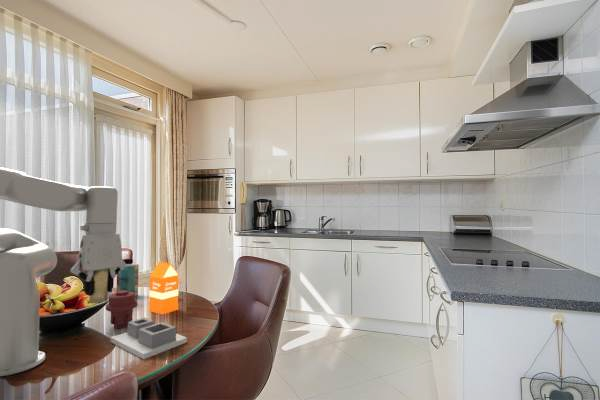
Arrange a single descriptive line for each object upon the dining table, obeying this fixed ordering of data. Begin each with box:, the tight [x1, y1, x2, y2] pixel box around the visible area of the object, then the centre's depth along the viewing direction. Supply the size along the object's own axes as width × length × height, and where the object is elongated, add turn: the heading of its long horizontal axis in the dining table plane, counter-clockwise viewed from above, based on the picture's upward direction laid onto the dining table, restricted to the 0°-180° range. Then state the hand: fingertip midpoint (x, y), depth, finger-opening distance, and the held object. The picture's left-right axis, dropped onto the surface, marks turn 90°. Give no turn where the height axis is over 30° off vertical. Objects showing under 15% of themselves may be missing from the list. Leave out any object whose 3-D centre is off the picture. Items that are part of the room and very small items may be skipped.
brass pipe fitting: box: [88, 269, 109, 304], centre depth 90 cm, size 4×4×10 cm
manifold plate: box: [110, 317, 188, 360], centre depth 100 cm, size 14×20×6 cm
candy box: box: [115, 263, 139, 297], centre depth 155 cm, size 9×4×15 cm, turn 91°
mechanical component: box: [105, 290, 138, 330], centre depth 115 cm, size 12×10×10 cm
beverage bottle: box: [119, 258, 135, 293], centre depth 143 cm, size 6×7×20 cm
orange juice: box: [148, 261, 179, 315], centre depth 133 cm, size 8×9×20 cm
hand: (98, 292), depth 90 cm, fingers closed on brass pipe fitting, 4 cm apart
